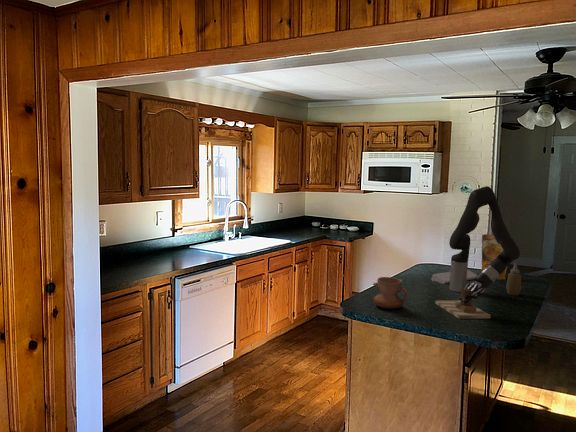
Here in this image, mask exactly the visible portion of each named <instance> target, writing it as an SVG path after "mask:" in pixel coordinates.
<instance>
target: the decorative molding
mask: <svg viewBox="0 0 576 432" xmlns="http://www.w3.org/2000/svg"><path fill="white" fill-rule="evenodd" d="M450 272H451V271H446V272H439V273H438V272H437V273H434V274H431V275H432V276H431V279H430V281H431V280H432V282H434V281H435V282H437V283H439V284H442V285H447V284H450ZM477 275H478V274H476V273H475V272H473V271H471V270H470V269H467V281H472V280H475V277H476V276H477Z"/></svg>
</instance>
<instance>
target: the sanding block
mask: <svg viewBox="0 0 576 432" xmlns="http://www.w3.org/2000/svg"><path fill="white" fill-rule="evenodd" d="M470 293H471V290H470V289H461V292H460V297H461V302H456V305H455V307H456V308H458V309H459V310H461V311H463V312H476V307H477V306H475V305H473V304H472V299H471V300H470V301H469V302H468V303H464V302H463V300H464V299H465V298H466V297H467V296H469V294H470Z"/></svg>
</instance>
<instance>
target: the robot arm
mask: <svg viewBox="0 0 576 432" xmlns="http://www.w3.org/2000/svg"><path fill="white" fill-rule="evenodd" d="M487 205H488V207H489V209H490V213H491V214H490V215H491V218H490V230H491V233H492V235H494V237H495V239H496V241H497V243H498V244H500V245H501V247H502V248H503V251H502V252H501V253H500V254H499V255H498V256H497V258H496V259H495V260H493V261H492V262H491V263H490V264H489V265H488V266H487V267H486V268H484V269H483V270H482V271H481V270H480V272H479V273H478V274H476V275H477V276H476V277H475V279H474V280H475V281H473V282H472V283H470V282H469V281H468V280H467V270H469V269H468V266H469V256H470V248H471V236H470V235H469V234H470V233H471V232H473V231H475V229H476V228H477V227H478V224H479V222H480V214H479V213H478V210H479V209H481V208H482V207H484V206H487ZM448 243H449V247H450V248H451V249H452V250H459V251H460V252H458V253H456V254H453V255H451V259H450V260H451V262H450V271H449V272H450V283H449V287H448V289H449V290H450V291H453V292H457V293H461V289H470V290H471V293H470V294H469V296H467V297H466V298H465V299H464V300H463V302H464V303H468V302H469V301H470V300H471V299H473V300H476V299H478V298H480V297H481V296H483V295H484V294H486V292H485V290H484V289H486V290H487V289H488V288H489V287H490V286H491V285H493V283H495V282H496V280H498V279H497V278H498V277H499V275H500V274H501V273H503V272H504V270H505V269H506V267H507V268H508V267H509V266H510V264H512V263H513V262H514V261H515V260H517V259H519V258H520V256H521V250H520V248H519V247H518V245H517V243H516V241H515V240H514V239H513V238H512V236H511V234H510V232H509V230H508V227H507V226H506V223H505V221H504V219H503V216H502V212H501V209H500V206H499V203H498V199H497V196H496V194H495V192H494V190H493V189H492V187H490V186H483V187H482V186H481V187H480V188H477V189H474V190H472V191H471V192H470V193H469V195H468V199H467V203H466V206H465V209H464V211H463V213H462V215H461V217H460V219H459V222H458V224H457V226H456V228H455V229H454V231H453V232H452V234H451V235H450V238H449V240H448ZM467 281H468V282H467ZM458 300H461V296H460V297H459V299H458Z"/></svg>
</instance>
